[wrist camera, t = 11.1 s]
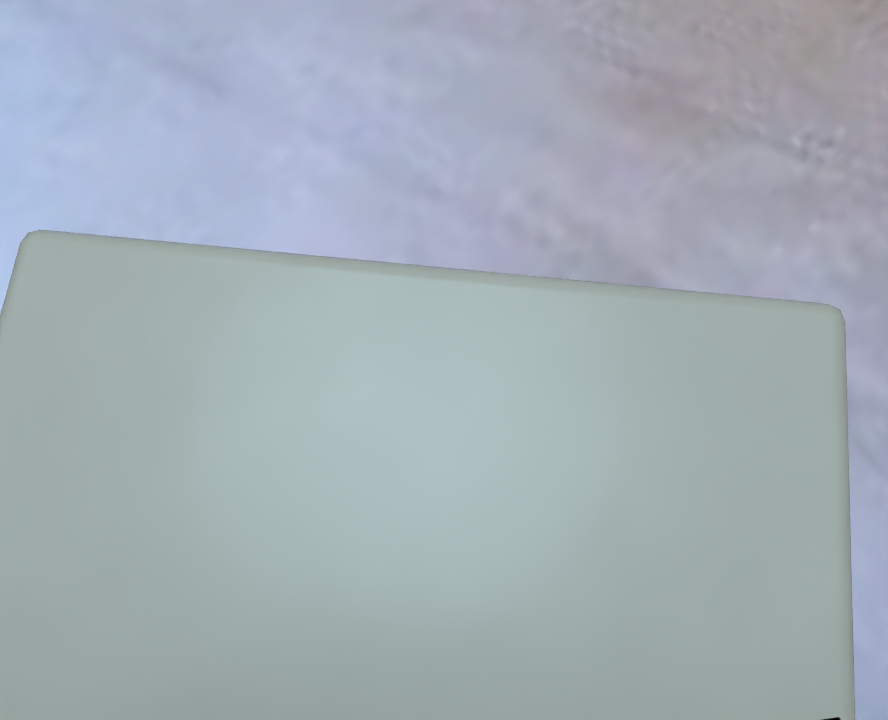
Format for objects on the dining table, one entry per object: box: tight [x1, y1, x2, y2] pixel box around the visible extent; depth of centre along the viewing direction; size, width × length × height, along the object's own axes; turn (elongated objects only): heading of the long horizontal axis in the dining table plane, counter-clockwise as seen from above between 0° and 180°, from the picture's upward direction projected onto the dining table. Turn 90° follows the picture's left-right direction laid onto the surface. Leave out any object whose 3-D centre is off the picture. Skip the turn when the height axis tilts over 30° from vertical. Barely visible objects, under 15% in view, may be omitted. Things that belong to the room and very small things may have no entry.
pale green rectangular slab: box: [0, 230, 855, 720], centre depth 8 cm, size 3×5×13 cm, turn 174°
